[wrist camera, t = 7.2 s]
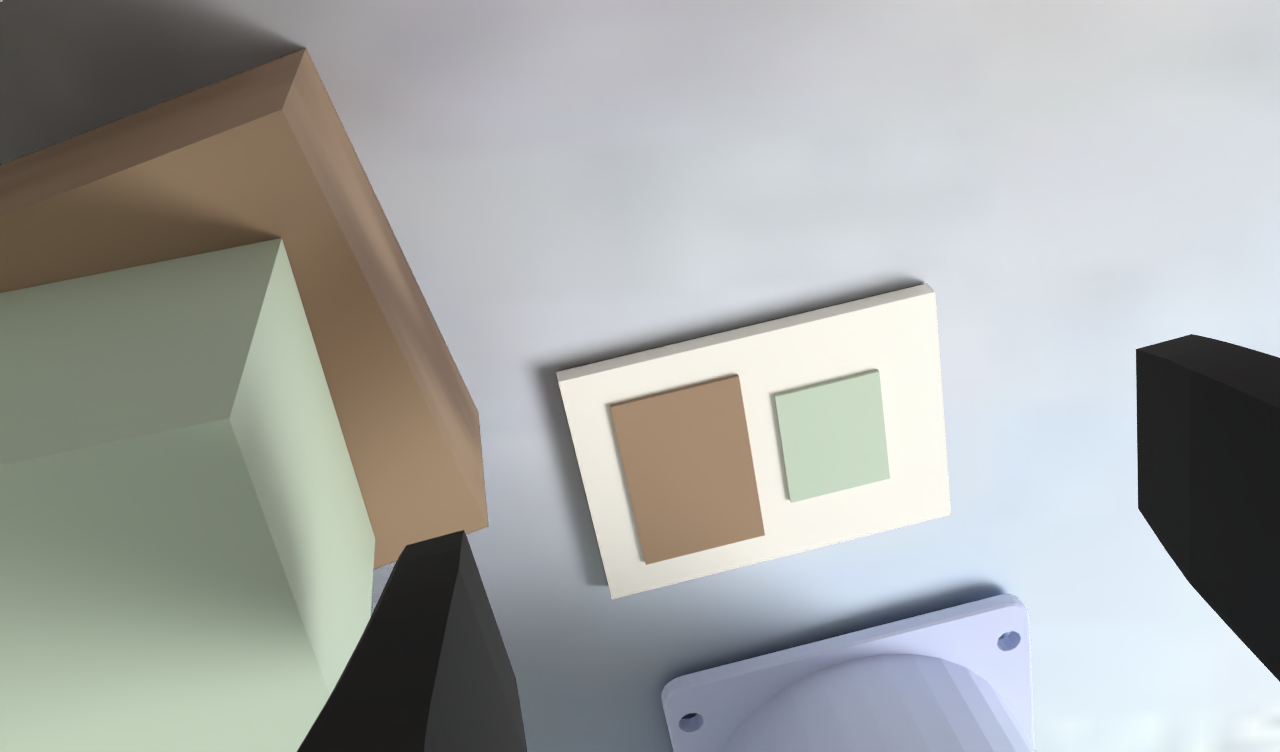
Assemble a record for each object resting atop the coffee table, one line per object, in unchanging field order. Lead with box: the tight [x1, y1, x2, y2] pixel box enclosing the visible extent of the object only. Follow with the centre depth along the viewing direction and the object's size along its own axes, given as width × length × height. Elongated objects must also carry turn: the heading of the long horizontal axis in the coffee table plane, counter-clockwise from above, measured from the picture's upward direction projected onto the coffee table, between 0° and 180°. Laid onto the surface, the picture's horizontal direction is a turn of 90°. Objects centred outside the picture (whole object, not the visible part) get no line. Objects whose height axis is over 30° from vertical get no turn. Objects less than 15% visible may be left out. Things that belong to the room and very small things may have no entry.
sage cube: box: [0, 238, 375, 752], centre depth 15 cm, size 5×5×5 cm
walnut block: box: [0, 48, 488, 570], centre depth 19 cm, size 7×7×4 cm
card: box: [556, 284, 951, 600], centre depth 23 cm, size 5×7×1 cm
